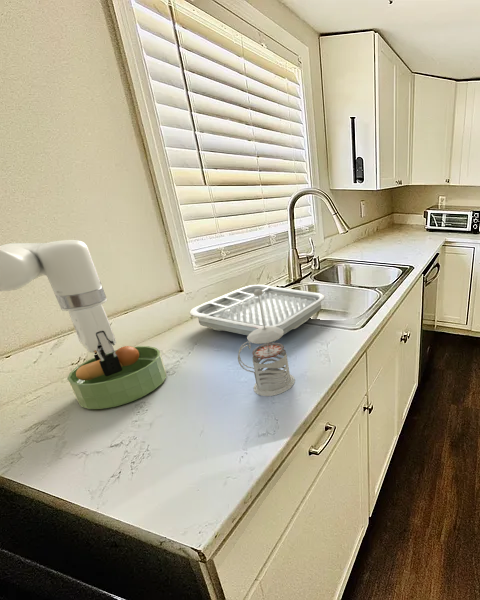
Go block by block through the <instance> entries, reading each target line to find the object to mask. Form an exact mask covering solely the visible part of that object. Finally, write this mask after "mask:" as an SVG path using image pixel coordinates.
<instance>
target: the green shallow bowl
mask: <svg viewBox="0 0 480 600" xmlns="http://www.w3.org/2000/svg"><path fill="white" fill-rule="evenodd" d="M133 347H134V348H136V349H137V350H138V352H139V358H138V360H137V361H136V362H135V363H134V364H132V365H129V366H123V367H122V371H120V372H118V373H115V374H112V375H110V376H105V375H102V376H99V377H96V378H94V379H91V380H87V381H84V380H80V379H78V378H77V376H76V371H77V369H78V368H79V367H81V366H83V365H86V364H89V363H92V362H94V361H96V360H95V357H92V358H90V359H88V360H85V361H84V362H83V363H81V364H79V365H77V366H75V367H74V369H72V371H70V372H69V374H68V376H67V378H66V379H67V382H68V384H69V386H70V388H71V391H72V393H73V395H74V397H75V400H76V401H77V403H78V405H79V406H80V407H81V408H85V409H87V410H103V409H110V408H116V407H119V406H123V405H126V404H130V403H132V402H135V401H137V400H139V399H141V398H144V397H145V396H146V395H149V394H150V393H152V392H153V391H155V390H156V389H158V388H159V387H160V386H161V385H162V384H163V383H164V382H165V380H166V378H167V369H166V366H165V363H164V360H163V357H162V353H161V350H159V349H158V348H157V347H154V346H149V345H139V346H138V345H136V346H133ZM117 350H118V349H116V350H115V349H114V351H115V352H116V351H117Z"/></svg>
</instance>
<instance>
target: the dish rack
mask: <svg viewBox="0 0 480 600" xmlns="http://www.w3.org/2000/svg"><path fill="white" fill-rule="evenodd" d="M256 289H260V290H262V292H263V294H262V295H259V298H260V303H261V309H262V314H263V320H264V325H265V327H266V326H273V327H278V328H280V329H283V331H284V333H283V336H284V335H286V334H287V333H289V332H290V331H292V330H295V329H297V328H299V327H301V325H303V324H304V323H306V322H307V321H309V319H311V318H312V317H314V315H315V314H317V313H318V312H320V311H321V310H322V302H323V301H324V300H325V298H326V296H325V294H323V293H321V292H315V291H306V290H300V289H292V288H285V287H280V286H279V287H277V286H273V285H268V284H250V285H246V286H243V287H241V288H238V289H235V290H233V291H231V292H228V293H225V294H223V295H221V296H218V297H216V298H213V299H211V300H209V301H206V302H203V303H202V304H199V305H197V306H195V307H193V308H191V309H190V311H189V315H190V316H191V317H195V318H197V319H198V324H199V325H200V326H202V327H207V328H211V329H212V330H213V331H218V332H221V331H224V332H228V333H233V334H238V335H244V336H248V335H249V334H250V333H251V332H253V331H254V330H256V329H259V328H261V327H264V325H263V320H262V314H261V309H260V303H259V298H258V296H255V295H254V291H255V290H256Z"/></svg>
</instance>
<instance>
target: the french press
mask: <svg viewBox="0 0 480 600" xmlns="http://www.w3.org/2000/svg"><path fill="white" fill-rule="evenodd" d="M262 294H263V292H262V290H260V289H256V290H255V291H254V295H255V296H258V298H259V295H262ZM259 303H260V298H259ZM260 309H261V303H260ZM261 314H262V309H261ZM262 320H263V314H262ZM263 325H264V320H263ZM283 333H284V331H283V329H280V328H278V327H273V326H266V327H265V325H264V327H261V328H259V329H256V330H254V331H253V332H251V333H250V334H249V335H247V336H246V338H247V341H246V342H244V343H242V344H241V346H240V347H239V349H238V354H237V361H238V364H239V366H240V367H241V368H242V369H243V370H245V371H246V372H250V373H253V375H254V380H255V383H254V385H253V392H254V394H256V395H258V396H262V397H273V396H277V395H280V394H284V393H285V392H288V390H290V389H291V388H292V387H293V386H294V384H295V381H296V379H295V377H294V376H293V374H290V373H291V372H290V367H289V361H288V355H287V351H286V349H285V346H284V344H282V343H280V342H276V341H279V340H280V339H281V338H282V337H283V336H284V335H283ZM247 343H248V344H247ZM251 344H253V345H255V344H256V345H258V346H256V347H255V348H254V349H253V350H252V353H251V354H252V364H253V367H252V366H248V365H246V364H245V363H244V362H243V360H242V358H241V352H242V350H244V348H246V347H248V349H249V350H251V348H252V345H251ZM280 356H281V357H280ZM274 358H275V359H274ZM245 367H246V368H245ZM247 368H248V369H247ZM249 369H253V370H249Z"/></svg>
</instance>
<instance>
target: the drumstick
mask: <svg viewBox="0 0 480 600" xmlns="http://www.w3.org/2000/svg"><path fill="white" fill-rule="evenodd" d="M134 347H135V346H131V345H124V346H121V347H119V348H117V349H116V350H117V351H116V352H115V353H116V355H117V356H118V359H119V362H120V364H121V367H123V366H129V365H132V364H134V363H135V362H136V361H137V360H138V358H139V352H138V350H137V349H136V348H134ZM99 361H101V360H97V361H94V362H92V363H89V364H86V365H83V366H81V367H79V368H78V369H77V371H76V376H77V378H78V379H80V380H84V381H87V380H91V379H94V378H96V377H99V376H102V375H104V372H103V370H102V367H101V365H100V363H99Z"/></svg>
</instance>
